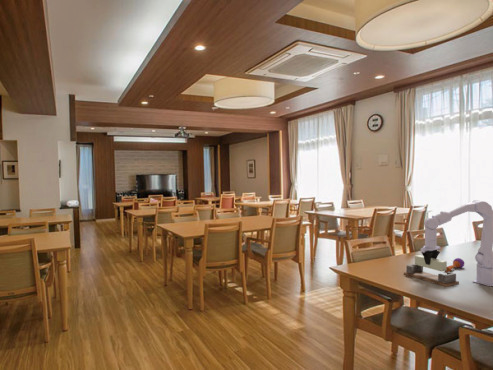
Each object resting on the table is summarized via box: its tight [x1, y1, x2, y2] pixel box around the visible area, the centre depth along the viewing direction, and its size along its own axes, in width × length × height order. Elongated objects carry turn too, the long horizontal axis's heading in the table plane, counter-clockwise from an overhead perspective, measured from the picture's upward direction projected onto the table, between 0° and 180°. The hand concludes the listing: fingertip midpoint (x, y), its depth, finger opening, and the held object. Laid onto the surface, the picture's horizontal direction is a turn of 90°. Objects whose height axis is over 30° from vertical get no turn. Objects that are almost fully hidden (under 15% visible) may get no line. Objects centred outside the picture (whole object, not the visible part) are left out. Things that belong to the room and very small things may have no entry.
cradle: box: [403, 263, 460, 288], centre depth 186 cm, size 25×11×5 cm, turn 27°
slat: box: [414, 254, 448, 272], centre depth 186 cm, size 16×4×5 cm, turn 27°
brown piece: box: [444, 257, 465, 273], centre depth 205 cm, size 6×6×20 cm
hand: (430, 263), depth 186 cm, fingers closed on slat, 4 cm apart
